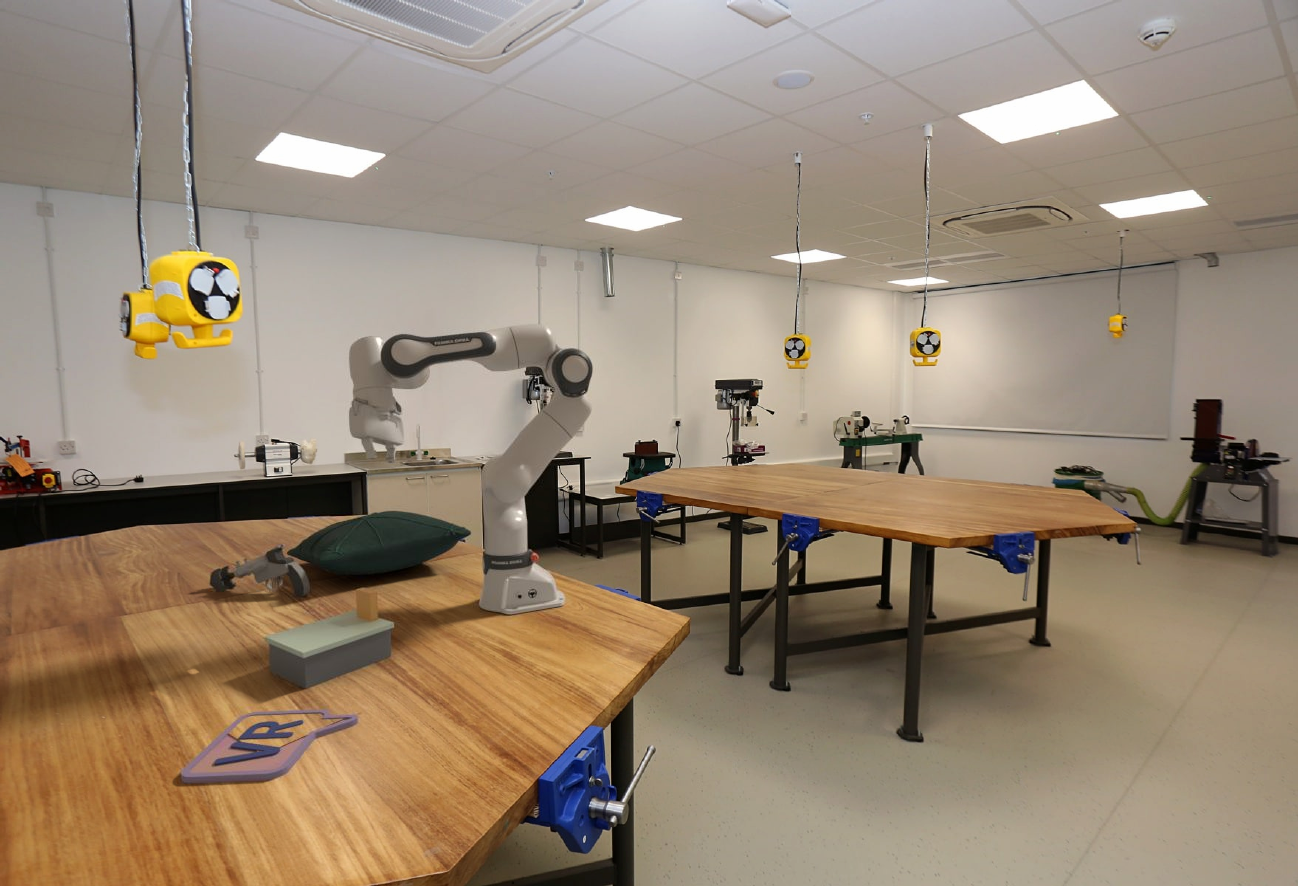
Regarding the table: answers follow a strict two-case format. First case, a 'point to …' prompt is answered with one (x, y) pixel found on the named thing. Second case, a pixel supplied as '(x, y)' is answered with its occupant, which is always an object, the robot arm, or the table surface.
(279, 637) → the lid
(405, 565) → the pillow
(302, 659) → the tub
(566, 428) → the robot arm
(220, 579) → the grey mechanical piece
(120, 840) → the table surface
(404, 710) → the table surface
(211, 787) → the table surface
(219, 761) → the icon
